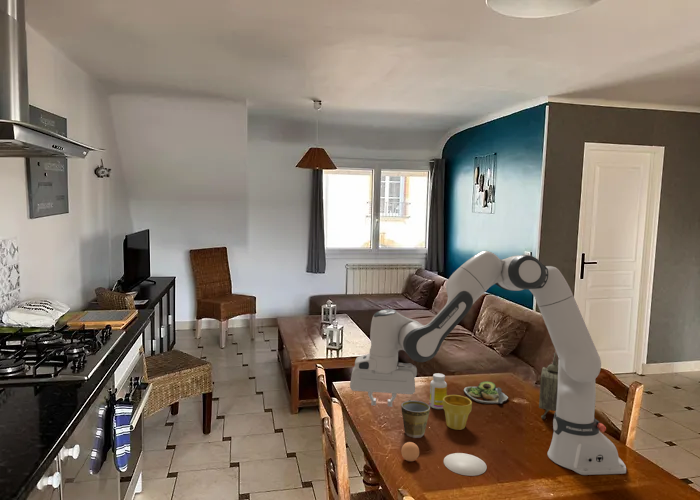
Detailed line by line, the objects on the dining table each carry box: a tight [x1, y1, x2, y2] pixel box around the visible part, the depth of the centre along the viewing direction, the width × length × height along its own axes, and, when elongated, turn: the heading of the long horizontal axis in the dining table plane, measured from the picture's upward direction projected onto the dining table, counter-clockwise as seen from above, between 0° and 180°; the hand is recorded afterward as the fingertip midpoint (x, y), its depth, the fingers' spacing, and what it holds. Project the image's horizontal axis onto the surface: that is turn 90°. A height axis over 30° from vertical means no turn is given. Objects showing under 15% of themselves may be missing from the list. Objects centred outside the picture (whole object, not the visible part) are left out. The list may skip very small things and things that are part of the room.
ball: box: [400, 441, 420, 462], centre depth 150 cm, size 6×6×6 cm
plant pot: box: [442, 394, 473, 431], centre depth 175 cm, size 10×10×10 cm
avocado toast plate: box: [463, 380, 509, 405], centre depth 204 cm, size 19×18×5 cm
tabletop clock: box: [538, 352, 558, 420], centre depth 186 cm, size 14×9×25 cm, turn 155°
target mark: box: [443, 452, 488, 477], centre depth 148 cm, size 13×13×1 cm
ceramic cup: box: [400, 399, 431, 439], centre depth 169 cm, size 13×10×10 cm
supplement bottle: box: [428, 372, 448, 410], centre depth 192 cm, size 7×7×13 cm
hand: (381, 405), depth 149 cm, fingers open, 4 cm apart
